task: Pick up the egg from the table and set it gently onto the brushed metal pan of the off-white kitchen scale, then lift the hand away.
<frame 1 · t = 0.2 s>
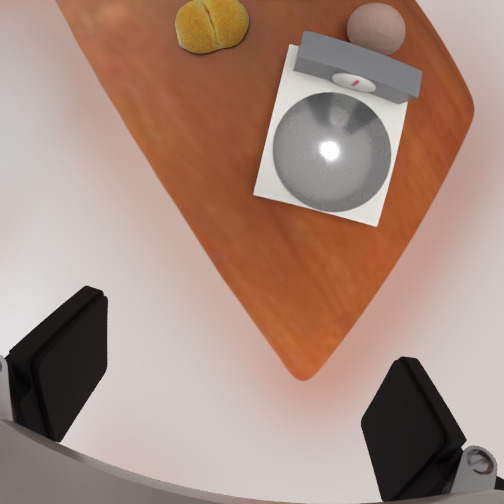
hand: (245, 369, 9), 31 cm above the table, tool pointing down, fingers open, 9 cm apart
bread roll: (211, 27, 33), on the table
scale pan: (333, 151, 31), point 5 cm above the table, slide at -0.2 cm, touching kitchen scale
kitchen scale: (328, 136, 36), on the table
egg: (364, 41, 32), on the table
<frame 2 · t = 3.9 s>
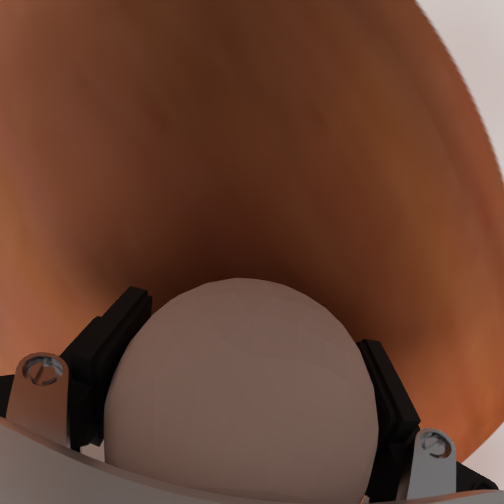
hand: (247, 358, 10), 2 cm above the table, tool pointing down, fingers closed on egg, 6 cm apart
egg: (250, 327, 12), on the table, touching gripper
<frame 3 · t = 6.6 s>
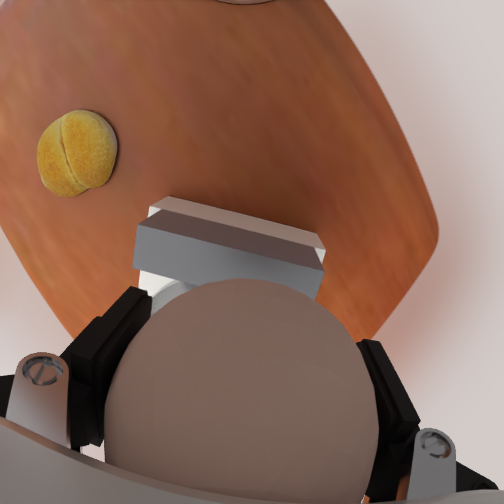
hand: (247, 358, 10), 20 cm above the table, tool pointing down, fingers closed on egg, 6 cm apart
bread roll: (81, 153, 28), on the table
scale pan: (209, 343, 27), point 5 cm above the table, slide at -0.2 cm, touching kitchen scale
kitchen scale: (221, 296, 32), on the table
egg: (250, 327, 12), point 18 cm above the table, touching gripper
when the fingers open (9 cm above the table, at t = 9.8 s): egg drops 1 cm, resting on scale pan.
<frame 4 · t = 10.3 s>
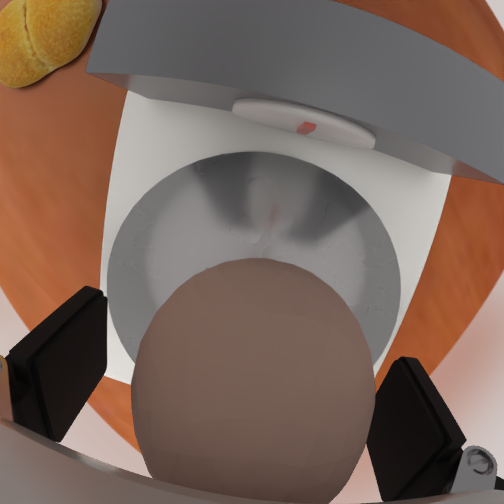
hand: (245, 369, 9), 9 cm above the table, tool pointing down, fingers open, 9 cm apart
bread roll: (50, 33, 15), on the table
scale pan: (251, 309, 13), point 5 cm above the table, slide at -0.2 cm, touching egg, kitchen scale
kitchen scale: (264, 232, 18), on the table
egg: (258, 308, 13), point 6 cm above the table, touching scale pan
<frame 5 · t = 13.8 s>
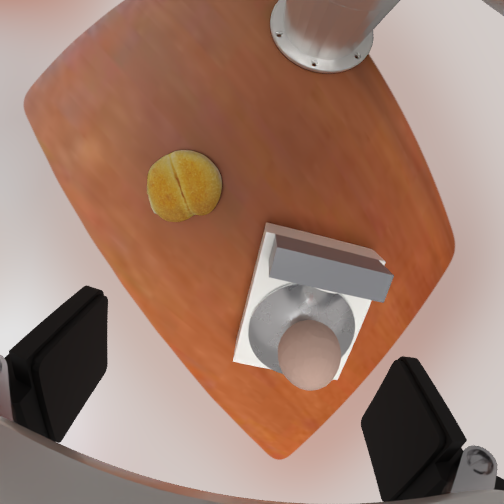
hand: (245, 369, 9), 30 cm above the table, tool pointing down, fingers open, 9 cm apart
bread roll: (185, 185, 38), on the table
scale pan: (302, 332, 37), point 5 cm above the table, slide at -0.2 cm, touching egg, kitchen scale
kitchen scale: (302, 297, 41), on the table
egg: (304, 331, 37), point 6 cm above the table, touching scale pan
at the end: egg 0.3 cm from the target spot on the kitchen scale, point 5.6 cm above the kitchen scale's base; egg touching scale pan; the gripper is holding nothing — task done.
